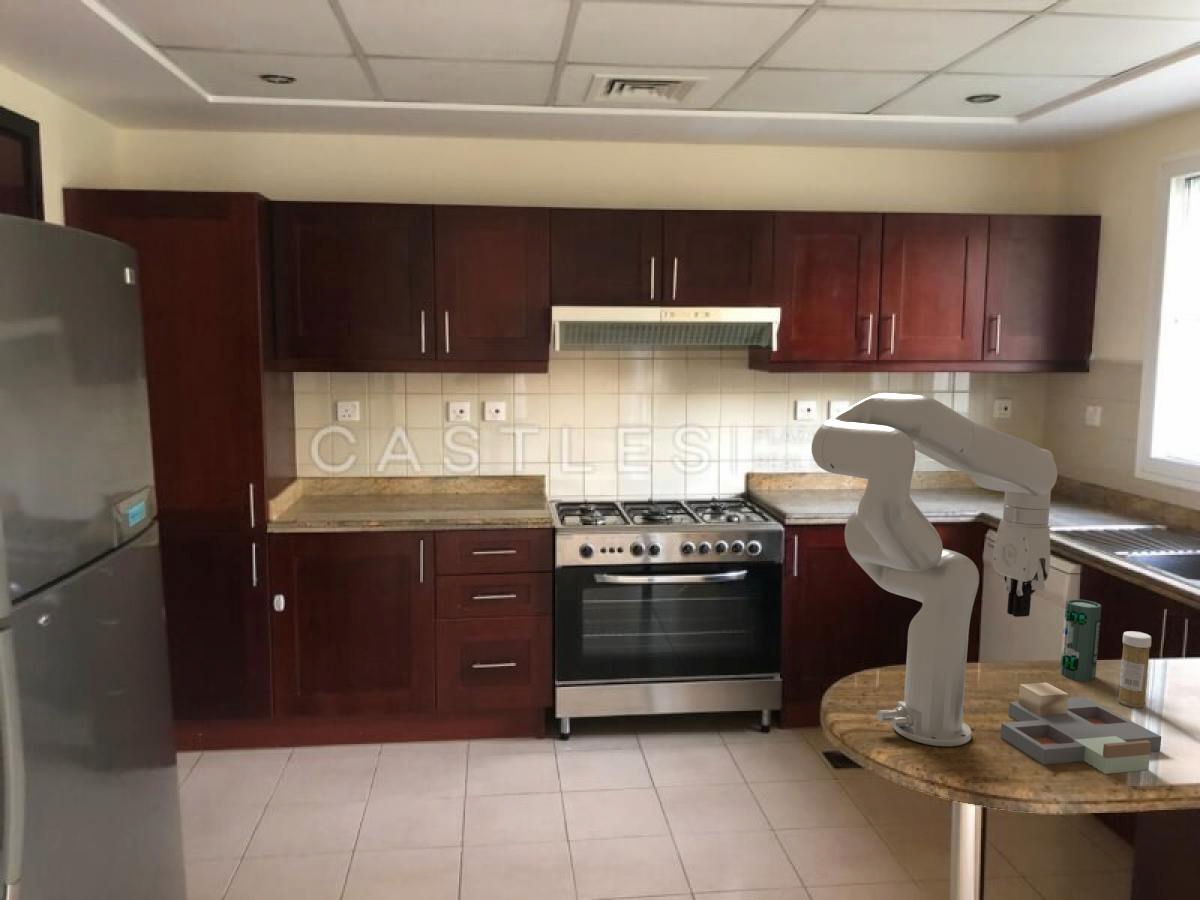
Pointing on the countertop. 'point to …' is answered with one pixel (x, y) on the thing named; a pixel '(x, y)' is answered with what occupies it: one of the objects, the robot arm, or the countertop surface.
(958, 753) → the countertop surface
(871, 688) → the countertop surface
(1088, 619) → the can
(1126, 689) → the sprinkles bottle
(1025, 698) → the birch block
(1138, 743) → the board
